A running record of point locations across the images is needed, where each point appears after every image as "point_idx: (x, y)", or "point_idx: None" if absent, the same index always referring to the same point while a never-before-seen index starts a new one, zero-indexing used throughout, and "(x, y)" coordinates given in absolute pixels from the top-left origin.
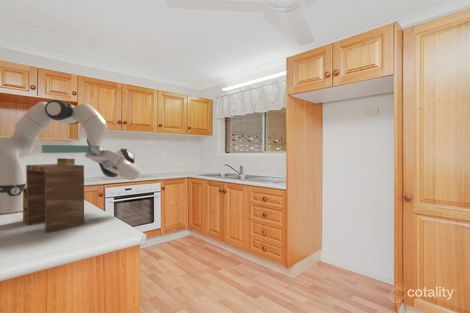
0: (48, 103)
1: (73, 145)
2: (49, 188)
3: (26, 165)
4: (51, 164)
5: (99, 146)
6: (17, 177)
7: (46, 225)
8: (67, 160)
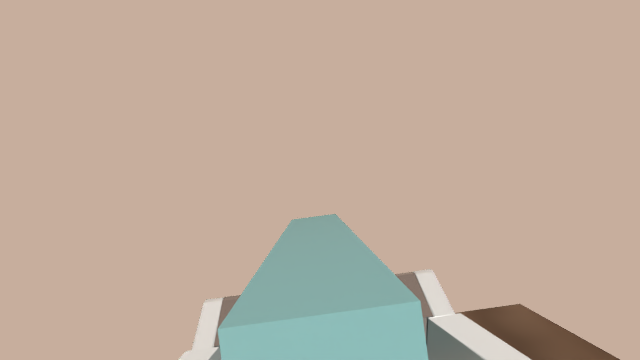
0: None
1: (279, 238)
2: None
3: (515, 306)
4: (566, 358)
5: (221, 348)
6: None
7: None
8: None
